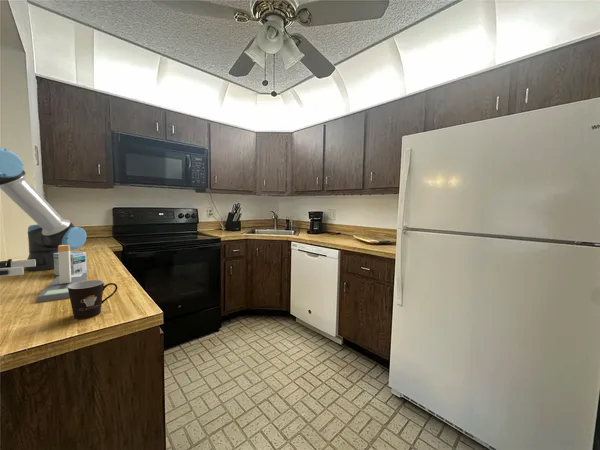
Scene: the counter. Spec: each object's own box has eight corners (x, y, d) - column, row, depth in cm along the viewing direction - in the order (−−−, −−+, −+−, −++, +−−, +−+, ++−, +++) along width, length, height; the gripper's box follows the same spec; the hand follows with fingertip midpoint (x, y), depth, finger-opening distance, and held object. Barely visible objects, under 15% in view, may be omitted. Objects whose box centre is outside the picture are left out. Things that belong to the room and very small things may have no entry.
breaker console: (57, 280, 107) (57, 275, 107) (87, 277, 113) (86, 273, 113) (37, 302, 85) (37, 296, 84) (76, 297, 90) (75, 291, 90)
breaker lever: (61, 281, 99) (59, 245, 98) (71, 280, 101) (69, 244, 100) (59, 283, 97) (57, 246, 95) (69, 282, 98) (68, 245, 97)
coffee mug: (64, 323, 71) (62, 290, 70) (74, 311, 79) (73, 281, 78) (113, 316, 76) (112, 285, 76) (118, 305, 84) (117, 277, 83)
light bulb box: (87, 272, 121) (86, 251, 120) (73, 276, 114) (72, 254, 113) (68, 271, 122) (67, 250, 121) (53, 275, 115) (52, 253, 114)
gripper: (-42, 275, 91) (40, 268, 103) (-91, 296, 70) (17, 285, 83) (-43, 255, 90) (39, 251, 102) (-93, 271, 70) (16, 263, 82)
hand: (29, 266), depth 92 cm, fingers open, 13 cm apart
